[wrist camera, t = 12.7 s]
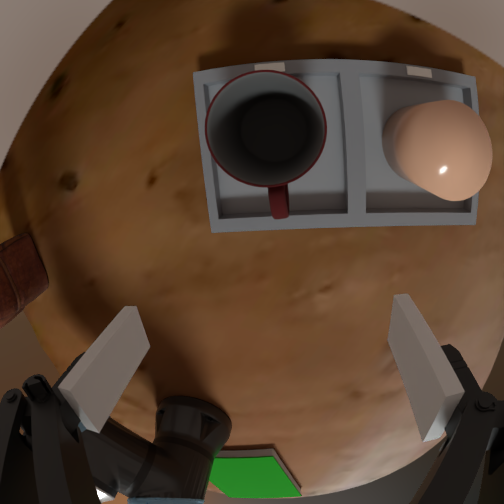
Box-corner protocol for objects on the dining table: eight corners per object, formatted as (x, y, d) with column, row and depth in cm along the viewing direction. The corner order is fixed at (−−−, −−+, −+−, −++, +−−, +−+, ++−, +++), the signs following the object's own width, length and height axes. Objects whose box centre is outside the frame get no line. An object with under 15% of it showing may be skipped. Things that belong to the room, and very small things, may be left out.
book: (274, 445, 54) (273, 456, 51) (302, 487, 63) (301, 496, 60) (185, 447, 59) (181, 456, 56) (229, 489, 68) (227, 497, 65)
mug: (324, 192, 32) (338, 221, 22) (245, 202, 33) (224, 234, 23) (308, 85, 28) (316, 62, 17) (227, 98, 29) (195, 83, 19)
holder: (217, 225, 36) (211, 233, 33) (200, 76, 29) (192, 72, 26) (465, 218, 31) (476, 225, 28) (464, 79, 24) (475, 76, 21)
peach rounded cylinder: (382, 182, 30) (411, 200, 22) (379, 103, 27) (408, 94, 19) (449, 184, 29) (489, 202, 21) (448, 109, 26) (490, 107, 17)
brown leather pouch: (14, 236, 42) (-55, 278, 25) (30, 227, 40) (-47, 272, 24) (38, 292, 46) (-22, 345, 29) (56, 288, 44) (-9, 346, 28)
